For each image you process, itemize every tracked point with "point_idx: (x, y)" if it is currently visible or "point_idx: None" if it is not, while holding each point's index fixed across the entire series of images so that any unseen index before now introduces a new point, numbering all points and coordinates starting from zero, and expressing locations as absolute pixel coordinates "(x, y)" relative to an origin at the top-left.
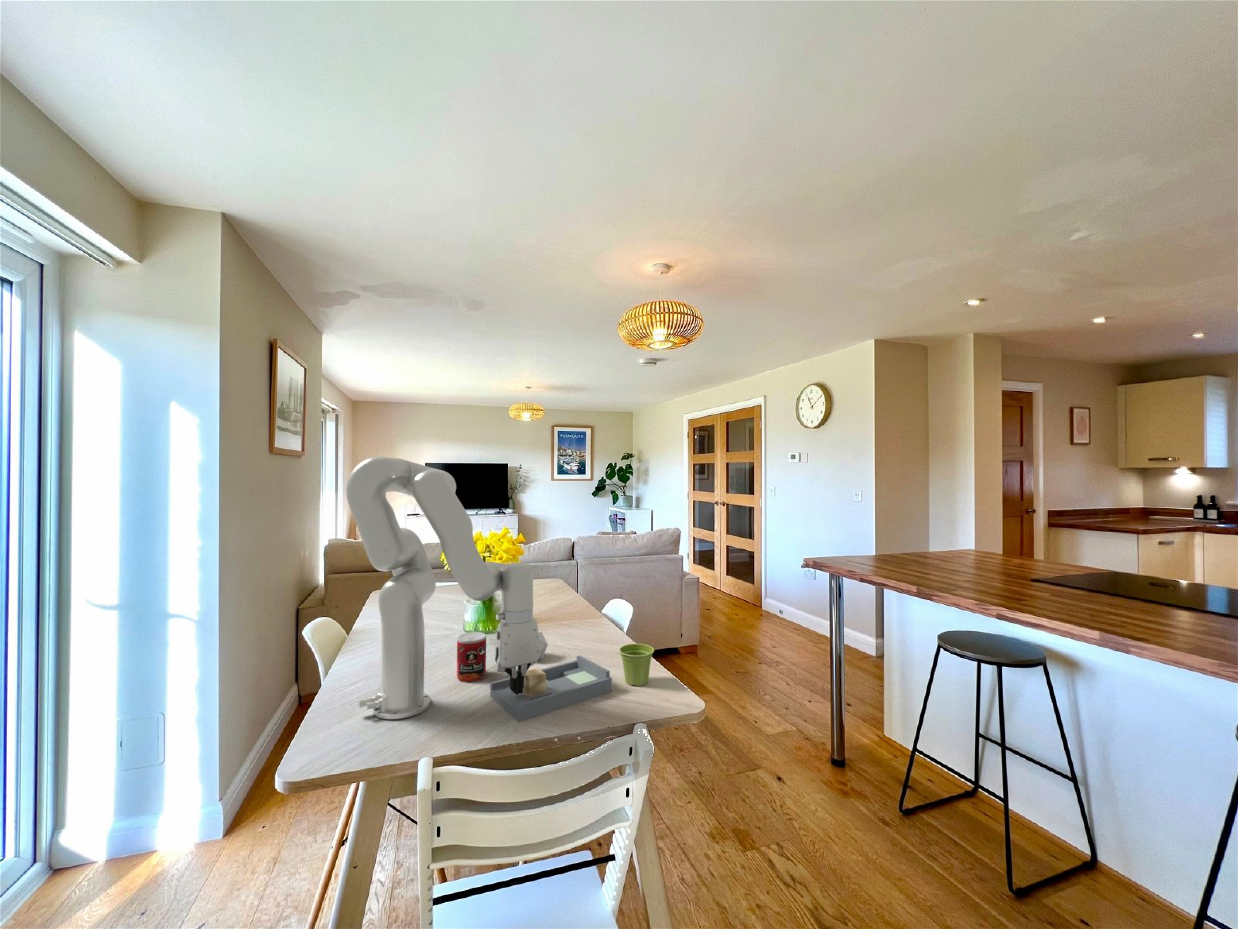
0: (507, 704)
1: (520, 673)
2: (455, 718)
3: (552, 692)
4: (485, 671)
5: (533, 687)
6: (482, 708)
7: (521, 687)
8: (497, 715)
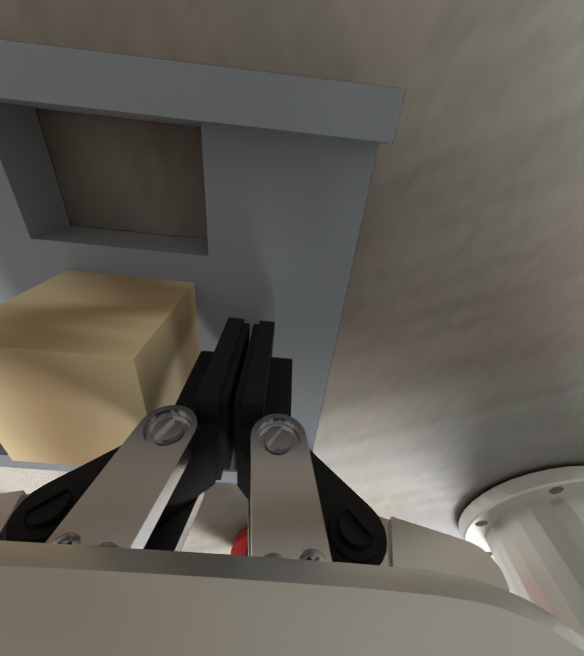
0: (342, 300)
1: (199, 445)
2: (525, 375)
3: (20, 236)
4: (238, 545)
5: (138, 304)
6: (393, 379)
7: (231, 339)
8: (397, 283)
